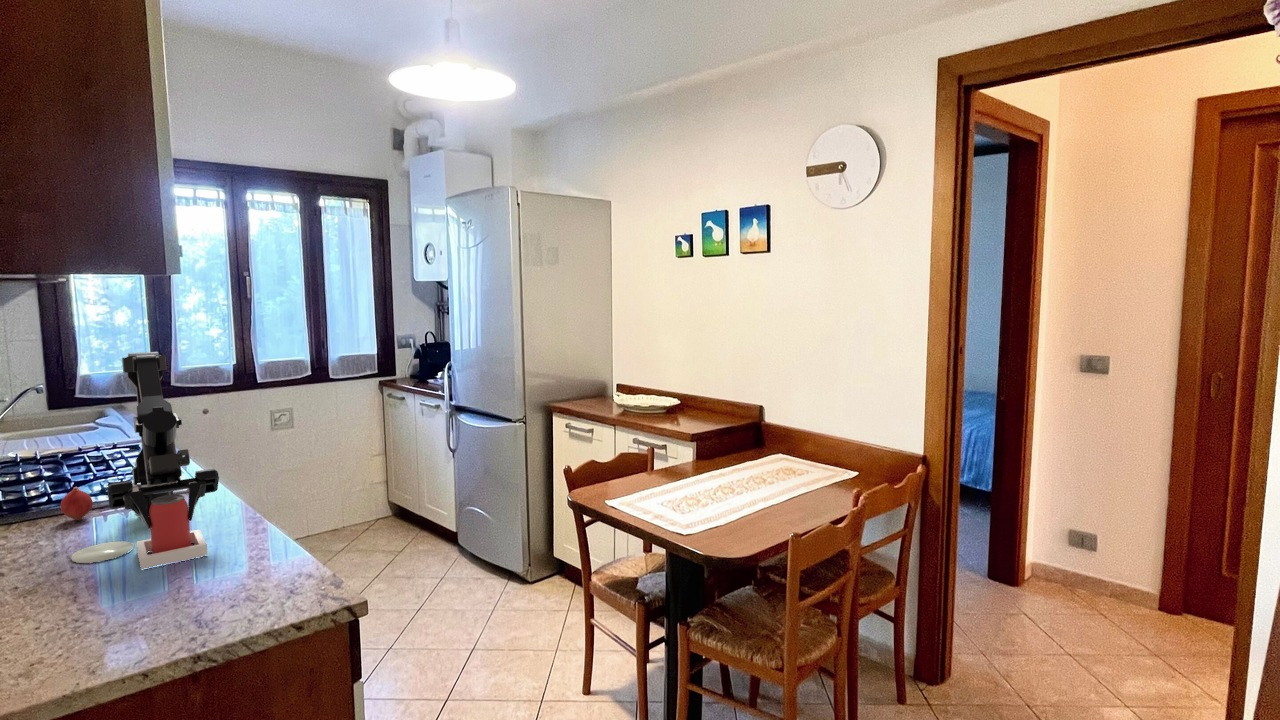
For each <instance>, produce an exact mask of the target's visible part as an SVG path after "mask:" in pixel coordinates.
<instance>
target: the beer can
mask: <svg viewBox="0 0 1280 720" xmlns="http://www.w3.org/2000/svg"><path fill="white" fill-rule="evenodd" d="M151 503H152V504H151V506H150V509H149V518H150V524H151V528H149V529H150V530H149V531H150V539H151V542H152V552H151V553H152V554H155V553H160V552H165V551H170V550H174V549H179V548H184V547H189V546H192V544H191V539H190V531H191V530H190V529H191V528H190V521H189V513H188V503H187V501H186V499H185V496H184V495H183V494H175V493H173V495H165V496H161V497H157V498H155V499H153V500H152V501H151Z"/></svg>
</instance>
